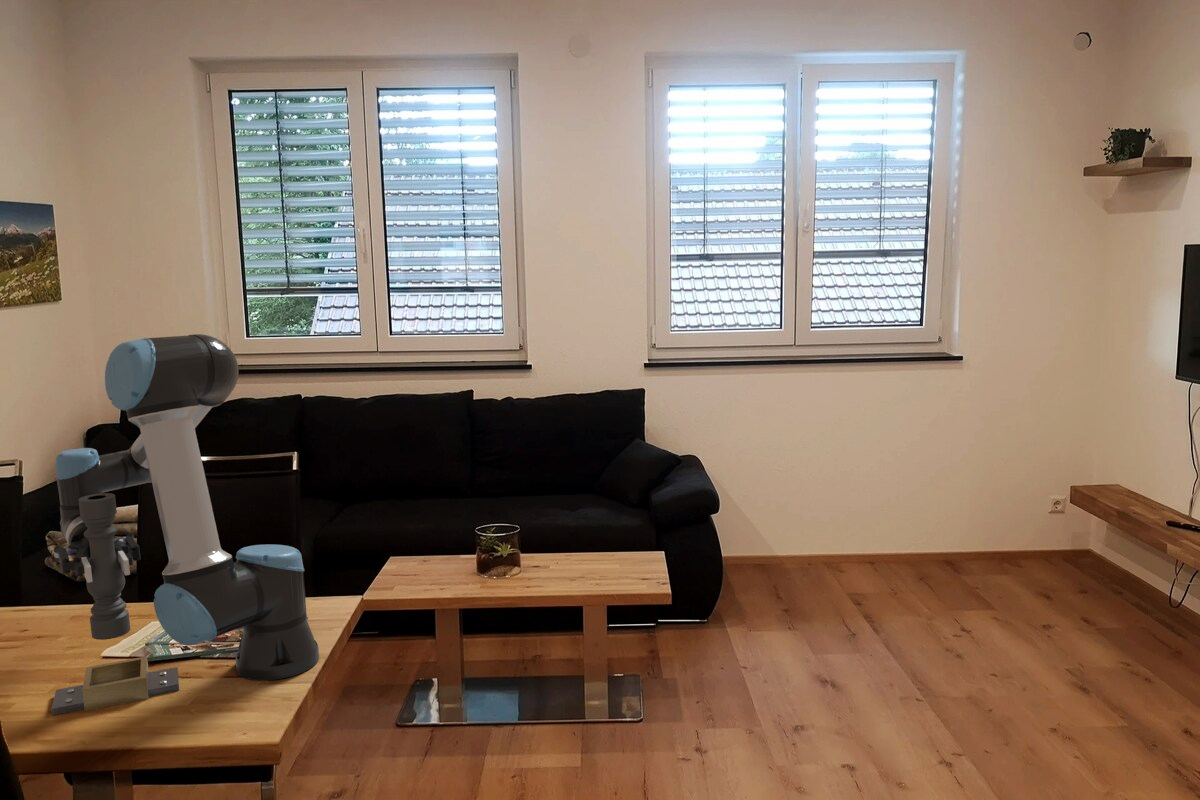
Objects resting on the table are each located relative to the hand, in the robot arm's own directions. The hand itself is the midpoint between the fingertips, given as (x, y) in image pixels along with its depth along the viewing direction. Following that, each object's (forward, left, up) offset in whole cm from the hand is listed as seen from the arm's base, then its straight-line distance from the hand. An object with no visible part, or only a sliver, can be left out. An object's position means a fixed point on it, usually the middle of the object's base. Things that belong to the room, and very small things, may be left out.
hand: (108, 571), depth 159 cm
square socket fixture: (+4, -3, -24) cm, 25 cm away
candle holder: (+4, -3, -13) cm, 14 cm away
